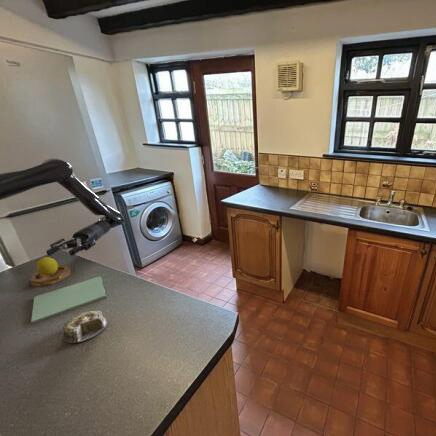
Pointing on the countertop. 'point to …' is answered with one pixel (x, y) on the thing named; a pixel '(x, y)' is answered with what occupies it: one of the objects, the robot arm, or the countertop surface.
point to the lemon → (47, 266)
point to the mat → (67, 299)
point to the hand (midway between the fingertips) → (59, 253)
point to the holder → (59, 275)
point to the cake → (84, 326)
